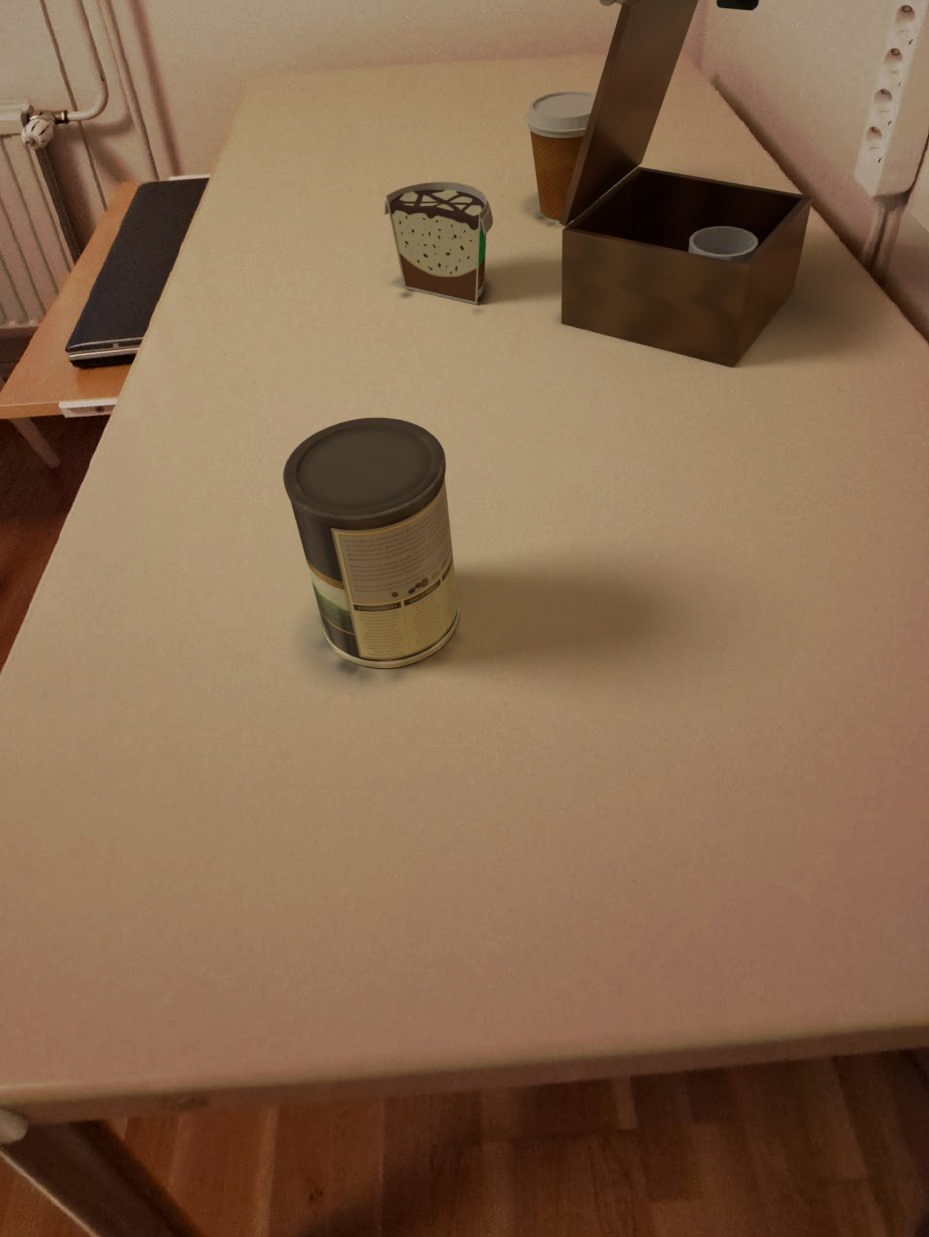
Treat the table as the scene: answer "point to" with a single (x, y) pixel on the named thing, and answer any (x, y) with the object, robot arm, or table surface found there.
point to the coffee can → (376, 538)
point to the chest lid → (628, 96)
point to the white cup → (724, 243)
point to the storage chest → (681, 263)
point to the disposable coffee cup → (557, 143)
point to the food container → (441, 238)
